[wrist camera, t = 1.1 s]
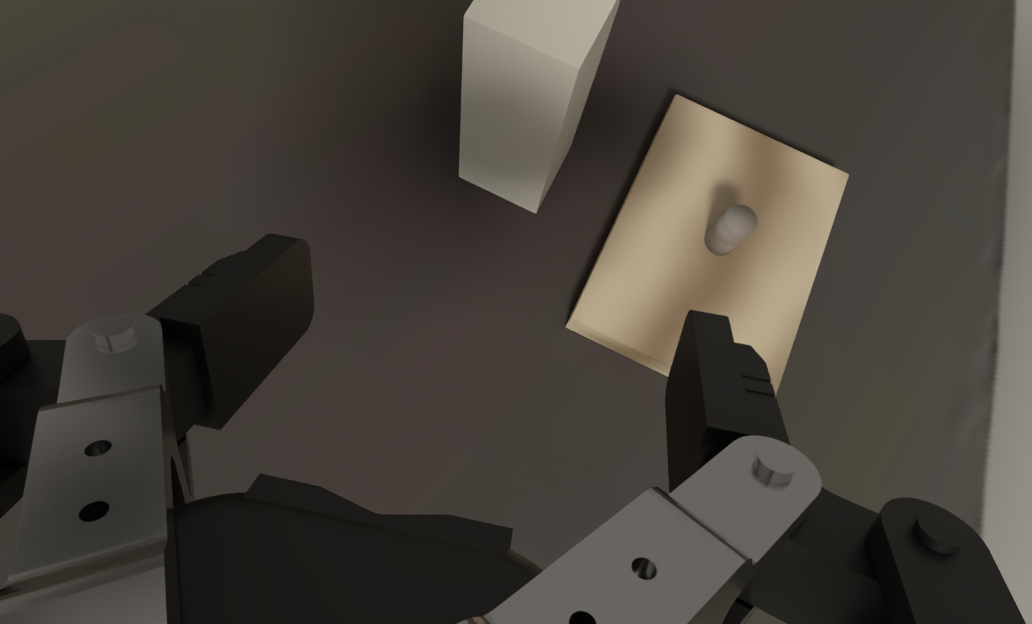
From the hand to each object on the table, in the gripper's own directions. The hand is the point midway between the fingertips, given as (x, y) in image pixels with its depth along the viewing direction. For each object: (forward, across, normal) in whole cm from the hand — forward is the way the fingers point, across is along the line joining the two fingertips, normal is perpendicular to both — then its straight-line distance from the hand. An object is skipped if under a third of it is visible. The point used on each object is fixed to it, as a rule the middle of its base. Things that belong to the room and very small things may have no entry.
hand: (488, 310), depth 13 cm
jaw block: (+20, +3, +4) cm, 21 cm away
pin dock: (+19, -8, +6) cm, 22 cm away
